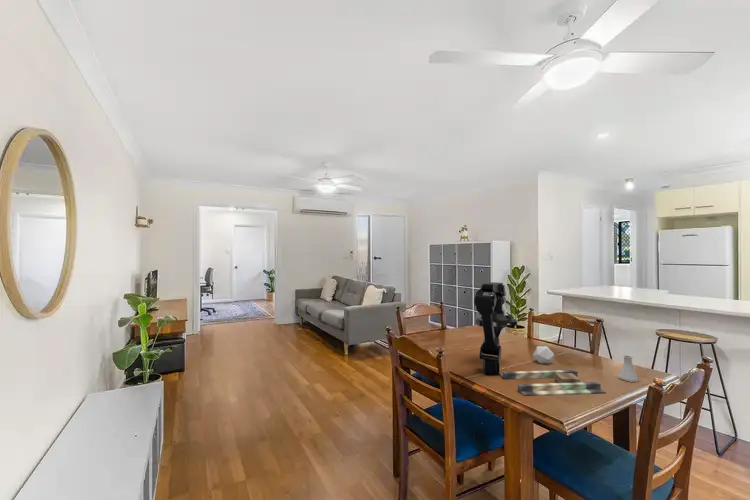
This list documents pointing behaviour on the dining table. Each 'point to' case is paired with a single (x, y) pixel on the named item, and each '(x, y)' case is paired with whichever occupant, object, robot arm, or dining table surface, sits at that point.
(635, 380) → the flask
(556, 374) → the walnut block
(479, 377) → the dining table surface
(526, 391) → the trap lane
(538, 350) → the die
